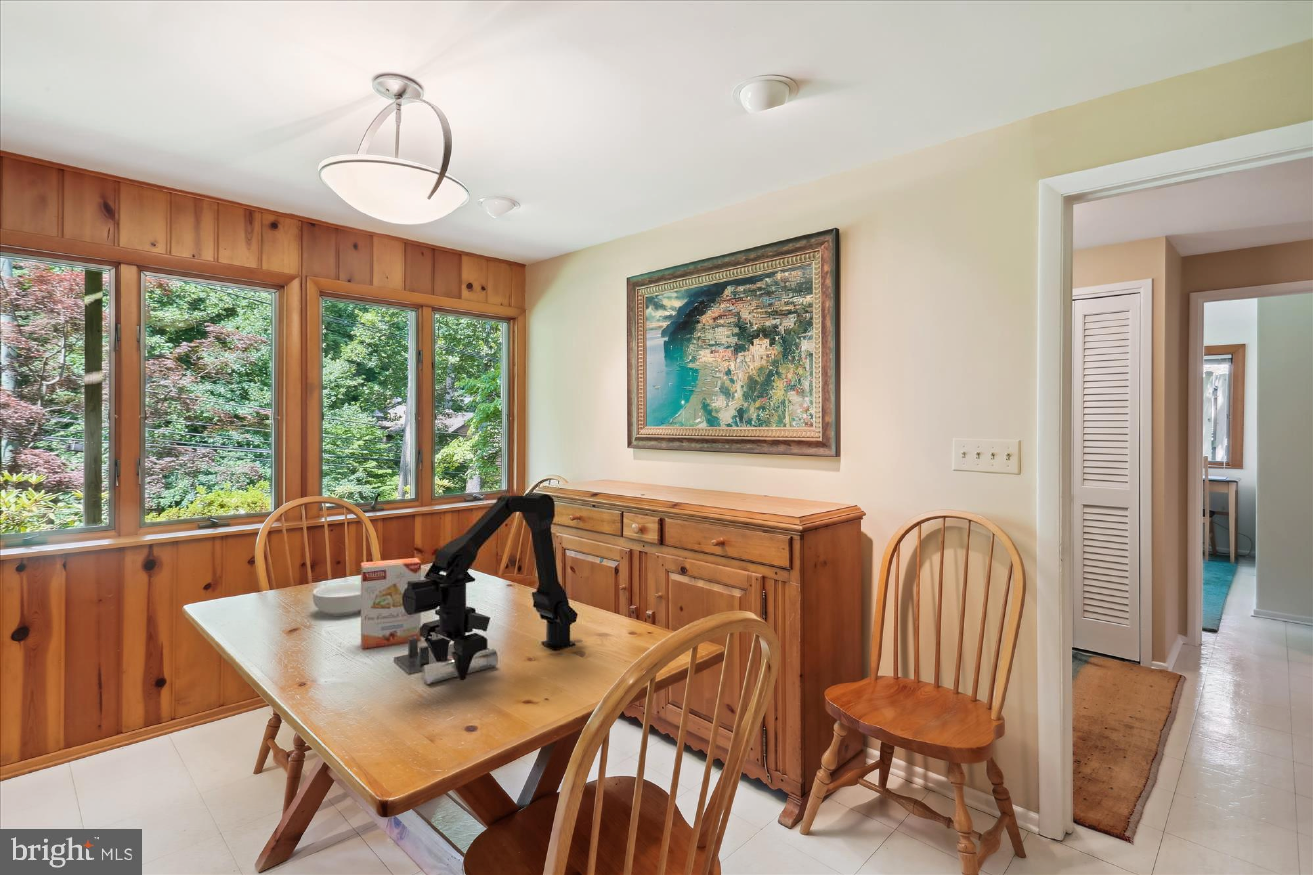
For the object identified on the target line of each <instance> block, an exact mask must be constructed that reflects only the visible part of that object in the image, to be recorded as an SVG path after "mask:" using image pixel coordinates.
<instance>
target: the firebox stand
mask: <svg viewBox="0 0 1313 875" xmlns="http://www.w3.org/2000/svg"><path fill="white" fill-rule="evenodd" d="M465 635H467V633H465ZM489 649H490V648H489V647H488V648H487V649H486V650H489ZM454 651H455V650H454V648H453V643H451V644H450V643H449V647H448V658H447V660H449V659H453V656H452V652H454ZM482 651H485V650H482ZM480 652H481V651H480ZM393 662H394V664H396V665H397V666H398V667H399V668H400V669H401V670H402V671H404V672H405V673H406V674H407V675H413V674H417V673H420V672H421V673H422V669H423V666H424V665H428V664H432V663H436V660H435V658H434V656H433V654H432V652H431V650H430V648H429V647H428V645H427V644H426V645H422V646H419V641H418V638H417V637H415V638H411V639H408V642H407V654H404V655H398V656H394V657H393Z"/></svg>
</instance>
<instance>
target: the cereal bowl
mask: <svg viewBox="0 0 1313 875" xmlns="http://www.w3.org/2000/svg"><path fill="white" fill-rule="evenodd" d="M312 601H313V605H314V606H315V607H316V609H318V610H319V611H320V612H324V613H327V614H329V615H330V616H333V617H344V616H350V615H354V614H357V613H359V611H361V582H356V581H355V582H341V583H340V582H339V583H332V584H327V585H323V586H319V587H318V588H317V587H316V588H315V589H314V590H313V591H312Z"/></svg>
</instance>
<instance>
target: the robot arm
mask: <svg viewBox="0 0 1313 875" xmlns="http://www.w3.org/2000/svg"><path fill="white" fill-rule="evenodd" d="M555 504H556V503H555V499H554V498H553V497H552V496H551V495H550V494H546V493H542V492H541V493H539V492H534V491H529V492H527V493H525V494H524V495H512V494H501V495H500V496H498V497H497V499H496V501H495V502H494V503H493V504H492V505H491V506H490V507H489V508H488V509H487V510H486V511H485V512H484V513H483V514H482V515H481V516H480V517H479V518H478V519H477V520H476V521H475V523H473V524H472V525H471V527H469V529H468V530H466V532H464V533H463V534H462V535H460V536H459V537H457V538H453V539H452V540H451V541H449V542H447V543H446V544H445V545H443V546H442V547H440V548H439V549H438V550H437V551H436V552H435V555H434V560H433V562H432V563H431V565H430V567H429V568H428V570H427V571H426V573H425V574H424V576H423V579H421V580H419V581H409V582H407V588H406V589H405V590H404V593H403V596H402V603H403V607H404V610H405V612H406V613H407V614H408V615H413V614H417V613H421V614H422V613H425V612H430V611H435V612H434V615H436V616H438V618H439V619H436V620H432V621H427V622H424V623H422V625H421V627H420V636H421V638H423V639H424V641H423V642H424V643H426V645H428V647H429V649H430V650H431V652H432V654H433V656H434V658H435V660H436V662H440V661H445V660H447V658H448V647H449V645H450V643H451V642H453V643H452V644H453V648H454V650H455V651H454V652H452V656H453V659H454V663H455V666H456V669H457V673H458V676H457V677H458V678H459V680H460V681H465V680H466V678H467V676H468V674H469V673H468V670H469V667H470V664H471V661H472V659H473V657H474V655H475V654H476V653H477V652H480V651H482V650H486V649H487V648H489V647H488V646H489V645H488V638H487V637H485V636H484V635H482V634H480V633H477V632H474V630H479V631H482V632H487V631H488V628H489V624H490V621H491V617H490V616H488V615H485V614H483V613H482V614H481V613H479V612H477V611H476V608H475V607H473V606H467V584H468V583H473V582H476V578H475V577H473V576H472V575H471V574H470V573H469V570H470V568H471V567H472V565H473V564H474V563H475V562H476V560H477V556H478V553H479V551H480V550H481V548H482V547H483V545H485V544H486V542H487V541H489V539H490V538H491V537H492V536H493V535H494V534H495V533H496V532H497V531H498V530H499V529H500V528H501V527H502V526H503V525H504V524H505V522H506V521H508V520H509V519H510V517H511V516H512V515H513V514H514V513H521V514H522V518H523V520H524V522H525V523H526V525H527V526H528V528H529V529H530V533H531V539H532V546H533V553H534V560H535V566H536V573H537V579H538V586H537V588H536V591H533V592H531V598H532V601H533V602H532V603H533V605H532V608H535V611H536V612H537V613H538V614H539V617H540V619H541V620H543V621H546V625H545V626H546V627H545V629H546V632H545V633H546V637H545V638H546V640H543V641H541V642H540V643H541V645H543V646H544V647H547V648H548V649H550V650H552V651H557V650H562V649H565V648H569V647H573V646H575V645H576V642H575V641H573V640H572V639H571V625H573V624H574V623H576V622H577V619H578V616H579V615H578V614H579V613H577V612H576V610H575V609H574V608H572V606H570V601H569V599H568V595H567V591H565V589H564V587H563V586H562V584H561V582H560V580H559V576H558V575H559V574H558V568H557V562H556V555H555V554H556V553H555V547H554V541H553V534H552V533H553V532H552V525H553V522H554V519H555V517H556V516H555V515H556V509H555V508H556V505H555ZM442 573H445V574H442ZM465 633H466V635H465ZM469 633H470V634H469ZM467 673H468V674H467Z"/></svg>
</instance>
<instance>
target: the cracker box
mask: <svg viewBox="0 0 1313 875" xmlns="http://www.w3.org/2000/svg"><path fill="white" fill-rule="evenodd" d="M419 580H422V563H421V560H420V559H419V558H418V557H413V558H410V557H409V558H400V559H399V558H398V559H390V560H389V559H387V560H376V561H365V562H363V561H362V562H361V563H360V583H361V610H360V643H361V649H363V650H365V649H371V648H377V647H378V648H379V647H384V646H393V645H397V644H398V645H399V644H406V643H407V644H408V639H411V638H415V637H417V638H418V642H419V641H421V638H422V637H421V636H420V627H421V626H422V625H421V623H422V622H421V620H422V617H421V615H422V612H421V613H417V614H413V615H408V614H407V613H406V612H405V610H404V607H403V603H402V596H403V593H404V590H405V589H406V588H407V582H409V581H419Z"/></svg>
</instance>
